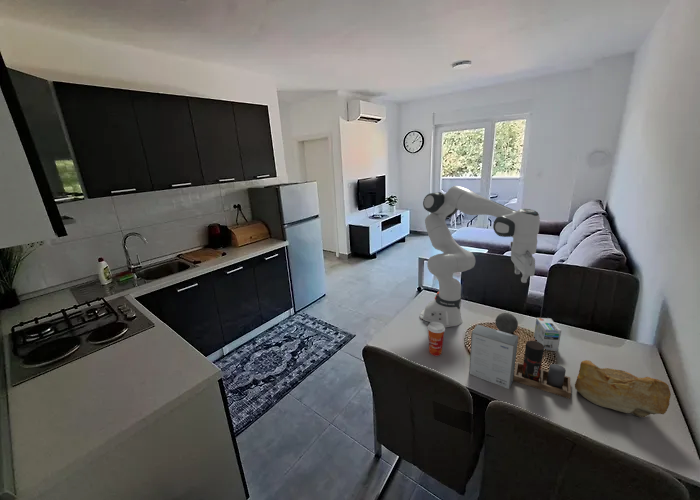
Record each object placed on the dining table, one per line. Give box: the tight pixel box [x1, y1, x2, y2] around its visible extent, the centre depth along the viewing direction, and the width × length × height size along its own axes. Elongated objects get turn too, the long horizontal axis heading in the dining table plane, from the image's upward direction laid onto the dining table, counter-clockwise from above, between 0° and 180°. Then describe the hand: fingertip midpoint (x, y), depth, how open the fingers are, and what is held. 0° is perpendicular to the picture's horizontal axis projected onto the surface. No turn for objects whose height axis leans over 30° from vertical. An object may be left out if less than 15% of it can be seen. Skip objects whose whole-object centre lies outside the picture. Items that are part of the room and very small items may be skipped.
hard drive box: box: [468, 324, 519, 390], centre depth 117 cm, size 16×8×20 cm, turn 50°
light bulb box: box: [533, 317, 562, 352], centre depth 136 cm, size 11×7×11 cm, turn 168°
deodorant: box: [522, 340, 545, 382], centre depth 115 cm, size 6×6×15 cm
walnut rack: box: [513, 361, 572, 399], centre depth 114 cm, size 18×9×3 cm, turn 56°
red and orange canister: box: [426, 322, 446, 357], centre depth 134 cm, size 8×8×14 cm
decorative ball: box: [494, 312, 519, 334], centre depth 147 cm, size 10×10×10 cm
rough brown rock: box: [574, 359, 672, 418], centre depth 103 cm, size 23×17×15 cm
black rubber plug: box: [547, 363, 566, 389], centre depth 111 cm, size 5×5×8 cm
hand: (520, 277), depth 128 cm, fingers open, 8 cm apart
